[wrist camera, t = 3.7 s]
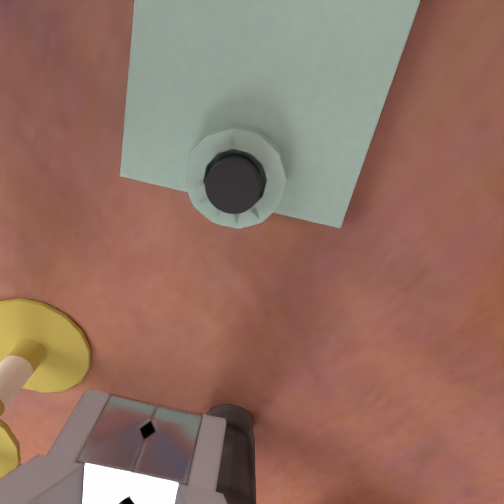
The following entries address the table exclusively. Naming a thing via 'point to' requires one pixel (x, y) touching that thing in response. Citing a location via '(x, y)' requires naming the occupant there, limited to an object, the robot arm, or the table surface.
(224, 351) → the table surface
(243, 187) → the button
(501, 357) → the table surface
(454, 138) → the table surface
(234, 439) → the beverage cup
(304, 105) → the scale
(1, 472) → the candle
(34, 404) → the table surface
